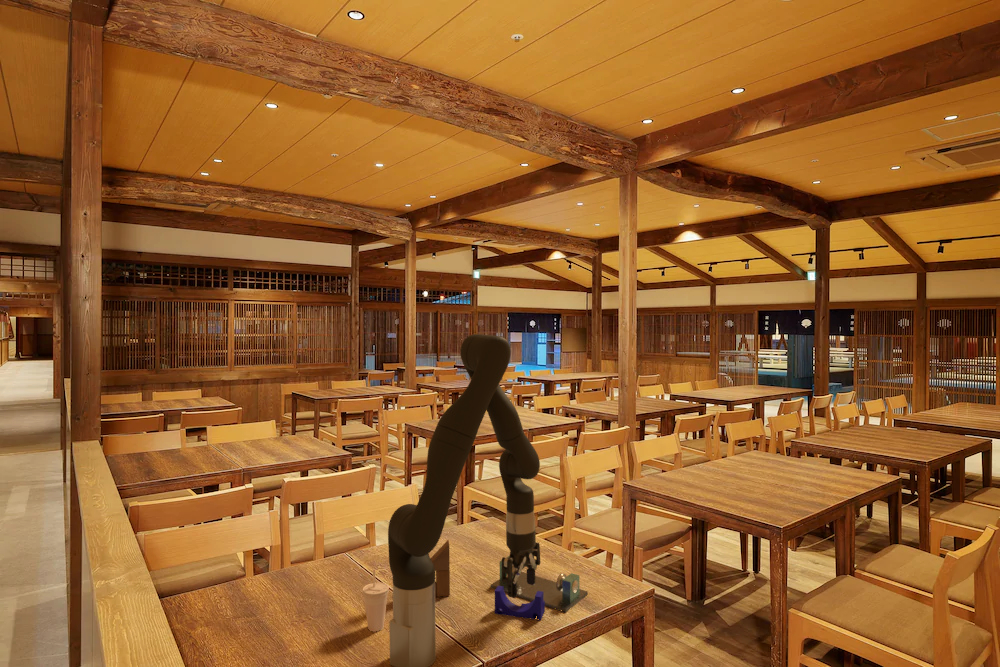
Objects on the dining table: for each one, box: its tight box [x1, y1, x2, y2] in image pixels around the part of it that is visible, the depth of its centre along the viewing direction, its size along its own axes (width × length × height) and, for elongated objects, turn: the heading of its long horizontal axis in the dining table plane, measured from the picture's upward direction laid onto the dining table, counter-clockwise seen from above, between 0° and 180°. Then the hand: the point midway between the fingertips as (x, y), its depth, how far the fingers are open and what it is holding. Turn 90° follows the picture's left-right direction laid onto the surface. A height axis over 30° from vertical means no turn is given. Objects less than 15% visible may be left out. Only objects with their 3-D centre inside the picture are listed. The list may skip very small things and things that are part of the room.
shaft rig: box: [490, 555, 589, 613], centre depth 154 cm, size 12×24×6 cm, turn 54°
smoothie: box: [361, 568, 390, 633], centre depth 136 cm, size 6×6×14 cm
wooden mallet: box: [430, 539, 451, 598], centre depth 152 cm, size 4×11×18 cm, turn 99°
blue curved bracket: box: [494, 586, 546, 621], centre depth 143 cm, size 12×4×6 cm, turn 73°
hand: (522, 590), depth 144 cm, fingers open, 8 cm apart
